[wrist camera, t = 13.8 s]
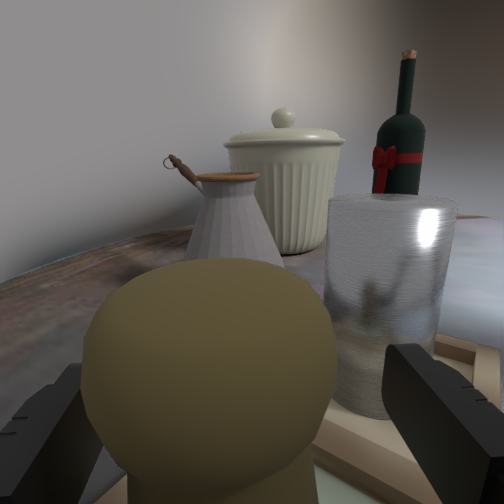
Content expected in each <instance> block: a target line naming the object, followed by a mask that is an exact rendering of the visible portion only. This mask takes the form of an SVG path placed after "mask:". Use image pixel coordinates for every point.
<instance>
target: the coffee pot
mask: <svg viewBox="0 0 504 504" xmlns="http://www.w3.org/2000/svg"><path fill="white" fill-rule="evenodd" d="M168 158H169V159H170V161H171V162H172V163H173V166H174V167H173V168H167V167H166V166H165V165H164V166H165V167H166V168H167V169H174V168H178V170H179V171H180V173H181V174H182V175H183V176H184V177H185V178H186V179H187V180H188V181H190V182H191V183H192V184H193V185H194V186H195V187H197V188H198V189H199V190H200V191H201V193H202V194H203V195H204V199H203V202H202V205H201V208H200V211H199V214H198V217H197V220H196V223H195V226H194V228H193V231H192V234H191V237H190V240H189V243H188V246H187V249H186V252H185V255H184V258H183V261H182V262H184V261H190V260H196V259H207V258H245V259H251V260H258V261H264V262H267V263H271V264H274V265H277V266H280V267H283V268H284V269H285V267H284V262H283V260H282V257H281V255H280V253H279V251H278V248H277V246H276V244H275V242H274V239H273V237H272V235H271V232H270V230H269V228H268V226H267V223H266V221H265V219H264V216H263V214H262V212H261V210H260V207H259V205H258V203H257V201H256V198H255V196H254V189H255V183H256V179H258V178H259V177H260V174H259V173H253V172H235V173H212V174H203V175H197V176H195V175H194V173H193V172H192V171H191V170H190V169H189V168H188V167H187V166H186V165H184V164H182V162H181V160H180V159H178V158H176V157H175V156H173V155H169V157H167V158H165V159H164V161H163V164H164V162H165V160H166V159H168ZM200 181H201V182H200Z"/></svg>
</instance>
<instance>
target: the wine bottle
mask: <svg viewBox="0 0 504 504" xmlns="http://www.w3.org/2000/svg"><path fill="white" fill-rule="evenodd" d="M416 53H417V51H415V50H408V51H405V52H402V61H401V67H400V77H399V87H398V97H397V107H396V115H394V116H392V117H391V118H389V119H388V120H386V121H385V122H384V123H383V124H382V126H381V127H380V129H379V131H378V133H377V144H376V147H375V148H374V151H373V161H372V167H373V169H374V175H373V187H372V194H408V195H418V190H419V181H420V172H421V165H422V156H423V148H424V140H425V131H426V130H425V127H424V124H423V123H422V122H421V120H420V119H418V118H417V117H416V116H414V115H412V114H410V107H411V99H412V90H413V82H414V73H415V63H416V59H415V57H416Z"/></svg>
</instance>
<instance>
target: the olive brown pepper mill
mask: <svg viewBox="0 0 504 504" xmlns="http://www.w3.org/2000/svg"><path fill="white" fill-rule="evenodd" d="M337 367H338V357H337V348H336V340H335V334H334V330H333V325H332V321H331V316H330V314H329V312H328V310H327V309H326V307H325V306H324V304H323V302H322V301H321V299H320V297H319V296H318V294H317V293H316V292H315V290H314V289H313V288H312V287H311V285H310V284H309V283H308V282H307V281H306V280H304V279H302V278H301V277H299V276H297V275H295V274H294V273H292V272H290V271H288V270H286V269H284V268H283V267H280V266H277V265H274V264H271V263H267V262H264V261H258V260H251V259H245V258H207V259H196V260H190V261H184V262H178V263H173V264H170V265H166V266H163V267H159V268H155V269H153V270H151V271H148V272H146V273H144V274H141V275H139V276H137V277H135V278H133V279H132V280H131V281H129V282H128V283H126V284H125V285H123V286H122V287H121V288H119V289H118V290H116V291H115V292H113V293H112V294H111V295H109V296H108V297H107V298H106V299H105V301H104V302H103V303H102V305H101V306H100V307H99V309H98V310H97V312H96V313H95V315H94V318H93V320H92V322H91V324H90V326H89V328H88V330H87V332H86V334H85V336H84V345H83V357H82V370H81V386H80V390H81V394H82V398H83V402H84V406H85V410H86V414H87V417H88V419H89V420H90V422H91V424H92V426H93V427H94V429H95V431H96V433H97V434H98V436H99V438H100V440H101V441H102V443H103V445H104V446H105V448H106V449H107V451H108V452H109V454H110V455H111V456H112V458H113V459H114V461H115V462H116V464H117V465H118V466H119V467H121V468H122V469H124V470H125V471H127V504H319V501H318V493H317V486H316V478H315V470H314V462H313V455H312V447H311V442H312V441H313V440H314V439H315V437H316V435H317V432H318V430H319V428H320V425H321V423H322V420H323V418H324V415H325V413H326V410H327V408H328V405H329V403H330V400H331V398H332V395H333V393H334V390H335V388H336V379H337Z"/></svg>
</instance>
